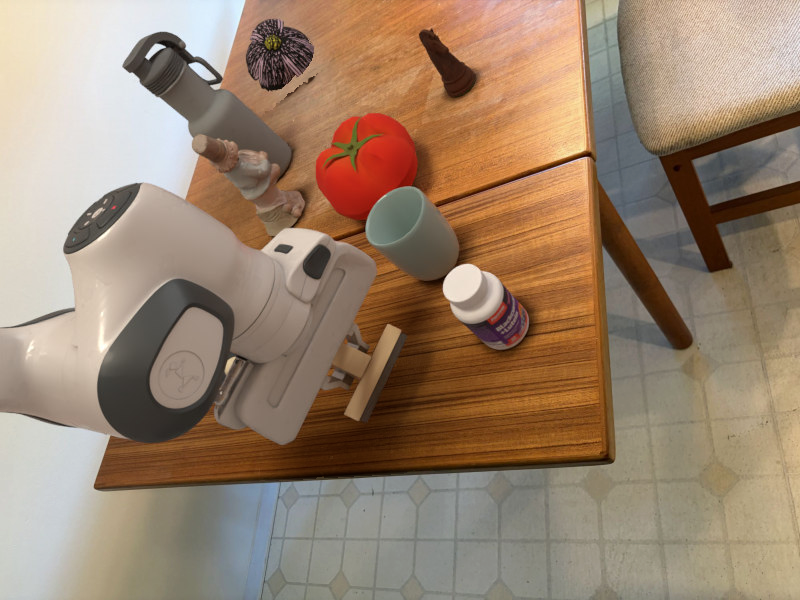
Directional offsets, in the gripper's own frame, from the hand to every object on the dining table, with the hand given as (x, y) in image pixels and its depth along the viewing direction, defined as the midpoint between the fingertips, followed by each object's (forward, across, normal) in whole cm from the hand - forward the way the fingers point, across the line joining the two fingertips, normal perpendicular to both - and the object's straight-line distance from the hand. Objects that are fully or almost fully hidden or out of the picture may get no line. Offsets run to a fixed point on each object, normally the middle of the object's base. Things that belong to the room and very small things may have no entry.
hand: (355, 366), depth 60 cm
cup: (+5, +16, 0) cm, 17 cm away
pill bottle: (+5, +10, -12) cm, 16 cm away
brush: (+1, 0, -4) cm, 4 cm away
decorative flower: (+5, +52, +56) cm, 76 cm away
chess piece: (+5, +44, +11) cm, 46 cm away
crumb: (+3, -6, +24) cm, 25 cm away
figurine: (+5, +20, +34) cm, 40 cm away
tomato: (+5, +26, +15) cm, 30 cm away
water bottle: (+5, +29, +46) cm, 55 cm away
